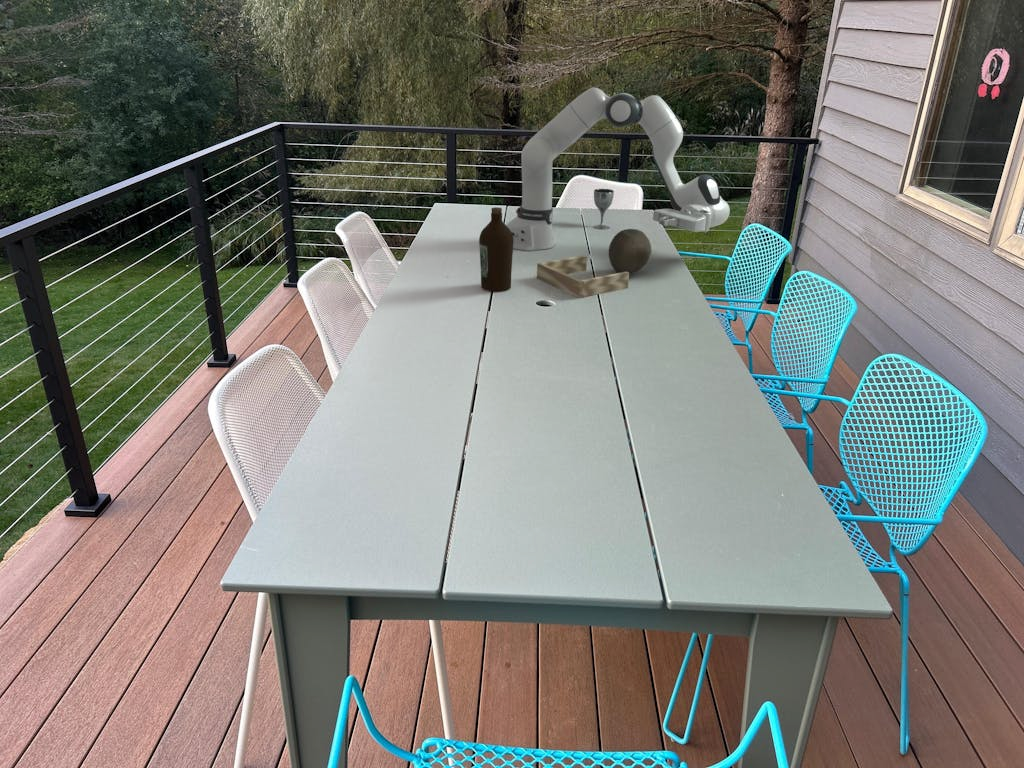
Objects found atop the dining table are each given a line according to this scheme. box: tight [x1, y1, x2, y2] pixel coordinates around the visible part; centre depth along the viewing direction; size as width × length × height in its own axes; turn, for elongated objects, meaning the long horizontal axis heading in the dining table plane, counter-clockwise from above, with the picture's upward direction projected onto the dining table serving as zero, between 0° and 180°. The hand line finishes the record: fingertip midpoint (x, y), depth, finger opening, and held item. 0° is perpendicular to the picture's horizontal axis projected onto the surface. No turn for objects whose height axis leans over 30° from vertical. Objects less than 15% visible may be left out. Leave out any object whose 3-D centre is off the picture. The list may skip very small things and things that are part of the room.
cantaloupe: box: [608, 228, 652, 275], centre depth 255 cm, size 14×14×15 cm
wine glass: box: [592, 188, 615, 230], centre depth 313 cm, size 8×8×15 cm
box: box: [536, 254, 630, 299], centre depth 247 cm, size 20×23×5 cm
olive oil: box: [478, 207, 514, 293], centre depth 237 cm, size 11×11×25 cm
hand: (661, 222), depth 258 cm, fingers closed
